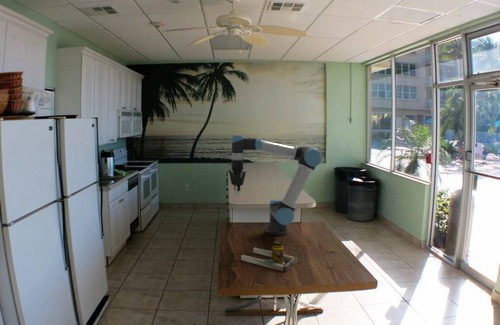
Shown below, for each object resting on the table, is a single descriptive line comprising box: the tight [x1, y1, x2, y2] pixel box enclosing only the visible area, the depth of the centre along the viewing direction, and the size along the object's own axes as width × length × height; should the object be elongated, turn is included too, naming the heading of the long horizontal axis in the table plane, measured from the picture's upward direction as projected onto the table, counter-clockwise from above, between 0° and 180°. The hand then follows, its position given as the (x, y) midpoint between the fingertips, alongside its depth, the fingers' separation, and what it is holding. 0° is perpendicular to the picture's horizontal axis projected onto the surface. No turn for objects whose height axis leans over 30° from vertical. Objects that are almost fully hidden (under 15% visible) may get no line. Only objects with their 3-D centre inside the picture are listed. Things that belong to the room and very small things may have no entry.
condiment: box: [270, 240, 286, 265], centre depth 173 cm, size 7×8×12 cm
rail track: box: [240, 247, 298, 273], centre depth 176 cm, size 15×27×3 cm, turn 59°
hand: (237, 195), depth 206 cm, fingers closed
